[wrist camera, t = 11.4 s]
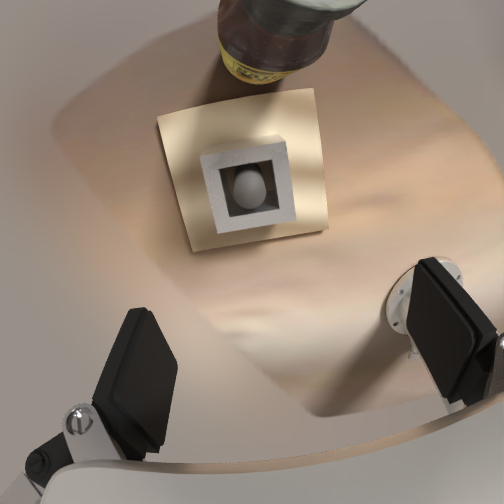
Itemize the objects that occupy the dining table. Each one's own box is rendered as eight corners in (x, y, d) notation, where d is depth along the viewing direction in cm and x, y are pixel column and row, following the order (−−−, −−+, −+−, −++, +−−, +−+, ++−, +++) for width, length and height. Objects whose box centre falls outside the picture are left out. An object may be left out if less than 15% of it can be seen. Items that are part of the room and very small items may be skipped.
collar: (287, 199, 28) (296, 220, 24) (221, 211, 29) (217, 233, 24) (278, 133, 25) (285, 141, 21) (206, 146, 26) (199, 156, 21)
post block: (326, 225, 31) (346, 259, 25) (194, 247, 32) (183, 286, 25) (310, 88, 24) (332, 86, 18) (159, 116, 25) (134, 122, 19)
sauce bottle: (235, 93, 24) (218, 79, 7) (213, 34, 21) (157, -78, 4) (304, 75, 23) (430, 42, 6) (283, 16, 20) (360, -104, 3)
